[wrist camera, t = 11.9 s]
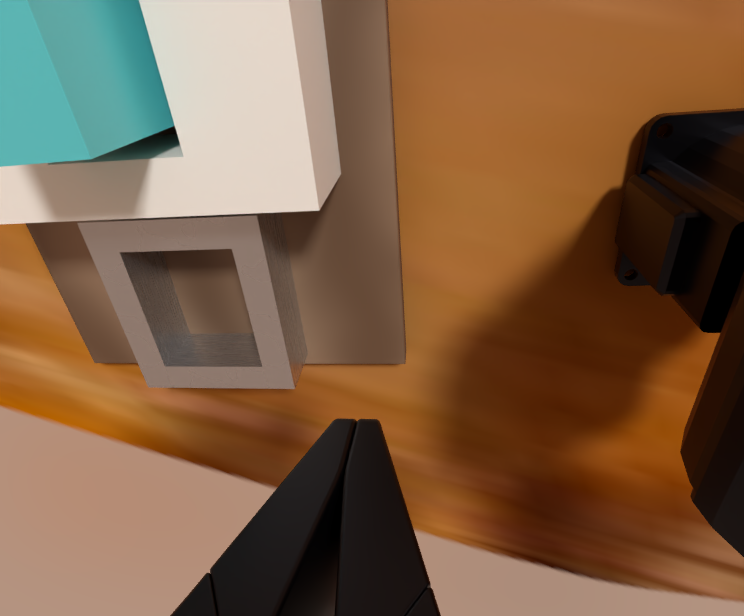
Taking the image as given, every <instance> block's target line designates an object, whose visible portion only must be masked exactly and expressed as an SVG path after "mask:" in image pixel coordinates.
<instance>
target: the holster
mask: <svg viewBox="0 0 744 616" xmlns="http://www.w3.org/2000/svg"><path fill="white" fill-rule="evenodd" d="M77 224H78V226H79V229H80V231H81V233H82V236H83V238H84V240H85V243H86V245H87V247H88V249H89V252H90V254H91V256H92V259H93V261H94V263H95V266H96V268H97V270H98V272H99V275H100V277H101V279H102V282H103V284H104V286H105V289H106V291H107V293H108V295H109V298H110V300H111V302H112V305H113V307H114V309H115V312H116V314H117V316H118V318H119V321H120V323H121V325H122V328H123V330H124V332H125V335H126V337H127V339H128V341H129V344H130V346H131V348H132V351H133V353H134V355H135V358H136V360H137V362H138V364H139V367H140V369H141V371H142V374H143V376H144V378H145V381H146V383H147V385H148V387H159V388H256V389H295V387H296V385H297V382H298V379H299V376H300V374H301V371H302V368H303V366H304V363H305V360H306V358H307V355H308V351H307V346H306V341H305V336H304V330H303V325H302V320H301V315H300V310H299V304H298V299H297V294H296V289H295V283H294V278H293V273H292V268H291V262H290V257H289V252H288V247H287V242H286V236H285V231H284V226H283V221H282V215H281V212H275V213H252V214H228V215H205V216H181V217H158V218H135V219H111V220H88V221H80V222H78V223H77ZM209 249H232V252H233V255H234V259H235V263H236V267H237V271H238V275H239V279H240V282H241V286H242V290H243V294H244V298H245V302H246V306H247V309H248V313H249V317H250V321H251V325H252V329H253V332H254V333H204V334H190V331H189V328H188V325H187V322H186V320H185V317H184V314H183V311H182V308H181V305H180V302H179V299H178V296H177V294H176V291H175V288H174V285H173V282H172V279H171V276H170V273H169V270H168V267H167V265H166V262H165V259H164V256H163V253H162V251H178V250H209Z"/></svg>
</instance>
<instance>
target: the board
mask: <svg viewBox="0 0 744 616" xmlns="http://www.w3.org/2000/svg"><path fill="white" fill-rule="evenodd" d="M321 4H322V13H323V22H324V30H325V39H326V48H327V56H328V65H329V74H330V82H331V91H332V99H333V108H334V117H335V125H336V134H337V143H338V151H339V160H340V169H341V175H340V177H339V178H338V180H337V182H336V183H335V185H334V187H333V188H332V190H331V192H330V193H329V195H328V197H327V198H326V200H325V202H324V204H323V205H322V207H321V209H320V210H319V211H298V212H281V215H282V221H283V226H284V231H285V236H286V242H287V247H288V252H289V257H290V262H291V268H292V273H293V278H294V283H295V289H296V294H297V299H298V304H299V310H300V315H301V320H302V325H303V330H304V336H305V341H306V346H307V351H308V355H307V358H306V360H305V363H304V364H405V360H406V339H405V320H404V301H403V283H402V264H401V246H400V227H399V208H398V190H397V171H396V152H395V134H394V115H393V97H392V78H391V59H390V41H389V22H388V3H387V0H321ZM165 134H177V132H176V128H175V126H173V127H170V128H168V129H165V130H163V131H160V132H158V133H155V134H153V135H165ZM150 136H151V135H150ZM78 222H80V221H65V222H41V223H26V225H27V227H28V229H29V231H30V233H31V235H32V237H33V239H34V241H35V243H36V245H37V247H38V249H39V251H40V253H41V255H42V258H43V260H44V262H45V264H46V266H47V268H48V270H49V272H50V274H51V276H52V278H53V280H54V282H55V284H56V286H57V288H58V290H59V292H60V294H61V296H62V298H63V300H64V302H65V304H66V306H67V308H68V310H69V312H70V314H71V316H72V318H73V320H74V322H75V324H76V326H77V328H78V330H79V332H80V334H81V336H82V338H83V340H84V342H85V344H86V346H87V348H88V350H89V352H90V354H91V356H92V358H93V360H94V362H95V363H138V362H137V360H136V358H135V355H134V353H133V351H132V348H131V346H130V344H129V341H128V339H127V337H126V335H125V332H124V330H123V328H122V325H121V323H120V321H119V318H118V316H117V314H116V312H115V309H114V307H113V305H112V302H111V300H110V298H109V295H108V293H107V291H106V289H105V286H104V284H103V282H102V279H101V277H100V275H99V272H98V270H97V268H96V266H95V263H94V261H93V259H92V256H91V254H90V252H89V249H88V247H87V245H86V243H85V240H84V238H83V236H82V233H81V231H80V229H79V226H78V224H77V223H78ZM162 253H163V256H164V259H165V262H166V265H167V267H168V270H169V273H170V276H171V279H172V282H173V285H174V288H175V291H176V294H177V296H178V299H179V302H180V305H181V308H182V311H183V314H184V317H185V320H186V322H187V325H188V328H189V331H190V334H204V333H254V332H253V329H252V325H251V321H250V317H249V313H248V309H247V306H246V302H245V298H244V294H243V290H242V286H241V282H240V279H239V275H238V271H237V267H236V263H235V259H234V255H233V252H232V249H209V250H178V251H162Z"/></svg>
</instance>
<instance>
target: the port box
mask: <svg viewBox="0 0 744 616" xmlns="http://www.w3.org/2000/svg"><path fill="white" fill-rule="evenodd" d="M139 3H140V6H141V10H142V13H143V17H144V20H145V24H146V27H147V31H148V34H149V38H150V41H151V44H152V48H153V51H154V55H155V58H156V62H157V65H158V69H159V72H160V76H161V79H162V83H163V86H164V90H165V93H166V97H167V100H168V104H169V107H170V111H171V114H172V118H173V121H174V125H175V128H176V132H177V134H165V135H151V136H148V137H145V138H143V139H141V140H138V141H136V142H133V143H131V144H128V145H126V146H123V147H121V148H118V149H116V150H113V151H111V152H108V153H106V154H103V155H101V156H98V157H96V158H93V159H88V160H76V161H64V162H52V163H40V164H28V165H16V166H3V167H0V224H18V223H41V222H65V221H88V220H111V219H135V218H158V217H181V216H205V215H228V214H252V213H275V212H298V211H319V210H320V209H321V207H322V205H323V204H324V202H325V200H326V198H327V197H328V195H329V193H330V192H331V190H332V188H333V187H334V185H335V183H336V182H337V180H338V178H339V177H340V175H341V169H340V160H339V151H338V143H337V134H336V125H335V117H334V108H333V99H332V91H331V82H330V74H329V65H328V56H327V48H326V39H325V30H324V22H323V13H322V4H321V0H139Z"/></svg>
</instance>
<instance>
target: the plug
mask: <svg viewBox="0 0 744 616" xmlns="http://www.w3.org/2000/svg"><path fill="white" fill-rule="evenodd" d="M173 126H175V125H174V121H173V118H172V114H171V111H170V107H169V104H168V100H167V97H166V93H165V90H164V86H163V83H162V79H161V76H160V72H159V69H158V65H157V62H156V58H155V55H154V51H153V48H152V44H151V41H150V38H149V34H148V31H147V27H146V24H145V20H144V17H143V13H142V10H141V6H140V3H139V0H0V167H3V166H16V165H28V164H40V163H52V162H64V161H76V160H88V159H93V158H96V157H98V156H101V155H103V154H106V153H108V152H111V151H113V150H116V149H118V148H121V147H123V146H126V145H128V144H131V143H133V142H136V141H138V140H141V139H143V138H145V137H148V136H150V135H153V134H155V133H158V132H160V131H163V130H165V129H168V128H170V127H173Z"/></svg>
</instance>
